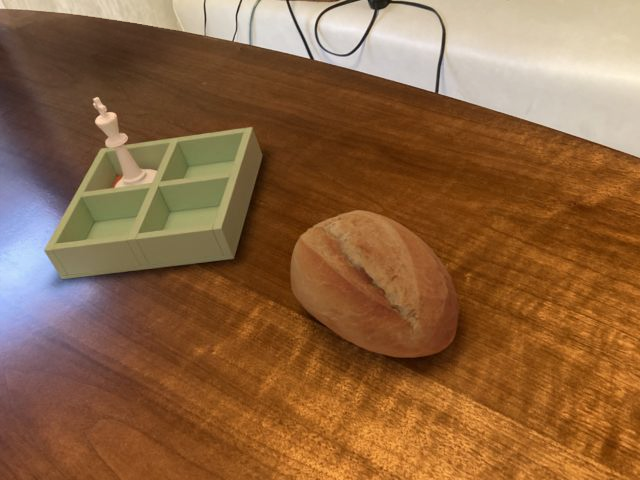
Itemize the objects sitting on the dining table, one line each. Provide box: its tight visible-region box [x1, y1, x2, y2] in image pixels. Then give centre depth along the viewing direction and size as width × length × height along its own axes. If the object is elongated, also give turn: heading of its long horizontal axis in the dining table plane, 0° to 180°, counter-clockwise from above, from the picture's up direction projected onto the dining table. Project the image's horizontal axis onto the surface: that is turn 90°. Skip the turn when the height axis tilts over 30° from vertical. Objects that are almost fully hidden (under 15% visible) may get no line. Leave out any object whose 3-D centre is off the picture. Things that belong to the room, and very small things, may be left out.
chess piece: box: [92, 96, 157, 188], centre depth 73 cm, size 5×5×10 cm
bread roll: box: [289, 209, 460, 359], centre depth 55 cm, size 10×15×8 cm, turn 43°
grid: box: [43, 126, 264, 280], centre depth 72 cm, size 16×16×3 cm
